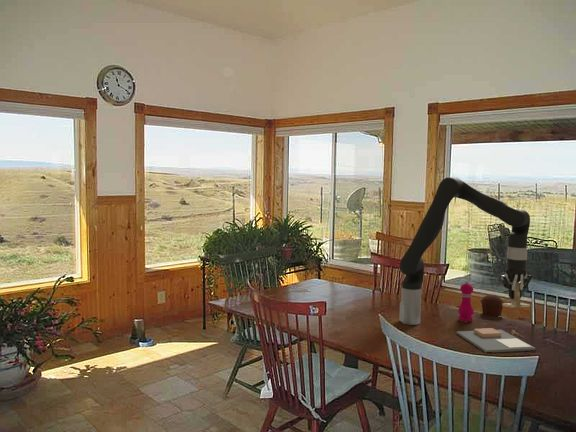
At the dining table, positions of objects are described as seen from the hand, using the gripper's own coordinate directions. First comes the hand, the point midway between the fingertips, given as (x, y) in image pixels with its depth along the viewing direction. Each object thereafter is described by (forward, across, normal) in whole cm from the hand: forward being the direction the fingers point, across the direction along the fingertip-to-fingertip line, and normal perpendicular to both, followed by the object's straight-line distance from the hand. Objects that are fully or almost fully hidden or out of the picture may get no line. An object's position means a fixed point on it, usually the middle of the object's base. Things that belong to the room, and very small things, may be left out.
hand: (515, 298), depth 199 cm
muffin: (+21, +18, +45) cm, 53 cm away
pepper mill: (+21, -1, +37) cm, 42 cm away
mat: (+20, -5, +6) cm, 22 cm away
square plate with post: (+3, 0, -1) cm, 3 cm away
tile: (+18, 0, +12) cm, 22 cm away
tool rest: (+19, 0, 0) cm, 19 cm away
